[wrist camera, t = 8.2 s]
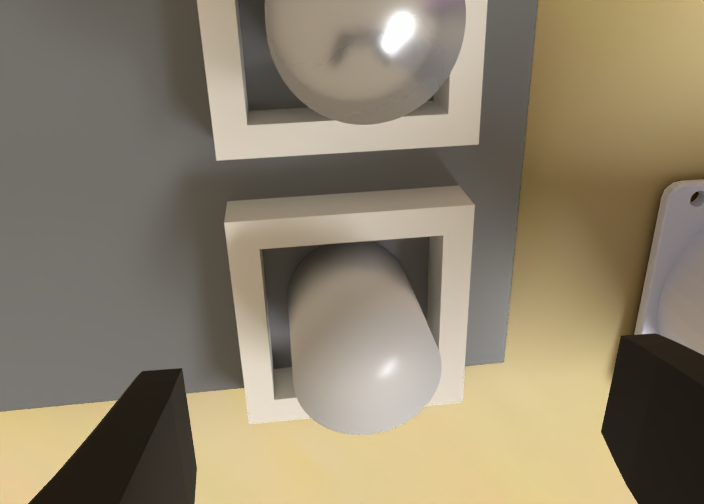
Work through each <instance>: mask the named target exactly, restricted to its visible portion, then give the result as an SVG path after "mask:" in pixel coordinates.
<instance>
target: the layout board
mask: <svg viewBox="0 0 704 504" xmlns="http://www.w3.org/2000/svg"><path fill="white" fill-rule="evenodd" d="M465 5H466V25H465V34H464V39H463V43H462V47H461V50H460V53H459V56H458V58H457V61H456V63H455V65H454V67H453V69H452V71H451V73H450V75H449V76H448V78H447V79H446V81H445V82H444V84H443V85H442V86H441V87H440V88H439V89H438V91H437V92H436V93H435V94H434V95H433V96H432V97H431V98H430V99H429V100H428V101H426V102H425V103H424V104H423V105H421V106H420V107H418V108H417V109H416V110H414V111H412V112H410V113H408V114H407V115H405V116H403V117H400V118H397V119H395V120H392V121H388V122H384V123H380V124H371V125H355V124H348V123H342V122H339V121H336V120H332V119H330V118H327V117H325V116H323V115H321V114H319V113H317V112H316V111H314V110H312V109H311V108H309V107H308V106H307V105H305V104H304V103H303V102H302V101H300V100H299V99H298V98H297V97H296V96H295V95H294V93H293V92H292V91H291V90H290V89H289V88H288V86H287V85H286V84H285V82H284V81H283V79H282V78H281V76H280V74H279V72H278V70H277V69H276V66H275V64H274V61H273V59H272V56H271V53H270V49H269V45H268V41H267V34H266V24H265V8H264V0H0V412H1V411H11V410H21V409H31V408H42V407H52V406H62V405H72V404H83V403H93V402H103V401H113V400H118V399H119V398H120V397H121V396H122V394H123V393H124V392H125V390H126V389H127V388H128V387H129V385H130V384H131V383H132V382H133V380H134V379H135V378H136V377H137V376H138V375H139V374H140V373H141V372H142V371H149V370H163V369H177V368H182V370H183V377H184V384H185V391H186V393H195V392H206V391H216V390H226V389H236V388H245V396H246V405H247V413H248V421H249V424H259V423H269V422H278V421H288V420H298V419H307V418H312V419H313V420H314V421H316V422H317V423H318V424H320V425H322V426H324V427H326V428H328V429H331V430H333V431H336V432H340V433H345V434H352V435H368V434H375V433H380V432H384V431H388V430H390V429H393V428H396V427H398V426H400V425H402V424H404V423H406V422H407V421H409V420H410V419H412V418H413V417H415V416H416V415H417V414H418V413H420V412H421V411H422V410H423V409H424V408H425V407H426V406H433V405H443V404H452V403H462V402H463V388H464V372H465V366H472V365H482V364H492V363H503V362H504V357H505V346H506V336H507V325H508V315H509V304H510V293H511V283H512V272H513V262H514V251H515V240H516V230H517V219H518V209H519V198H520V188H521V177H522V166H523V156H524V145H525V135H526V124H527V113H528V103H529V92H530V82H531V71H532V61H533V50H534V39H535V29H536V18H537V8H538V0H465Z"/></svg>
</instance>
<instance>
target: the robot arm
mask: <svg viewBox="0 0 704 504" xmlns="http://www.w3.org/2000/svg"><path fill="white" fill-rule="evenodd" d="M695 192H698V193H699V194H698V196H697V198H696V199H695V200H694V201H692V202H690V199H691V197H692V195H693V194H694V193H695ZM601 432H602V435H603V437H604V439H605V441H606V443H607V446H608V448H609V450H610V452H611V454H612V457H613V459H614V461H615V463H616V465H617V467H618V469H619V471H620V473H621V475H622V477H623V479H624V481H625V483H626V485H627V487H628V488H629V490H630V491H631V493H632V495H633V496H634V498H635V499H636V501H637V502H638V504H704V179H699V180H685V181H677V182H673V183H672V184H670V185H669V186H668V187H667V188H666V189H665V190H664V192H663V194H662V197H661V202H660V207H659V212H658V217H657V222H656V227H655V232H654V237H653V242H652V247H651V252H650V257H649V262H648V267H647V272H646V277H645V282H644V288H643V293H642V298H641V303H640V308H639V313H638V318H637V323H636V328H635V333H634V335H625V336H621V340H620V345H619V349H618V354H617V359H616V364H615V368H614V373H613V378H612V383H611V387H610V392H609V397H608V402H607V406H606V411H605V416H604V420H603V425H602V430H601ZM196 472H197V467H196V460H195V453H194V446H193V439H192V432H191V425H190V418H189V411H188V405H187V398H186V391H185V384H184V377H183V370H182V368H177V369H163V370H149V371H142V372H141V373H140V374H139V375H138V376H137V377H136V378H135V379H134V380H133V382H132V383H131V384H130V385H129V387H128V388H127V389H126V390H125V392H124V393H123V394H122V396H121V397H120V398H119V399H118V401H117V402H116V403H115V404H114V406H113V407H112V408H111V409H110V411H109V412H108V413H107V414H106V416H105V417H104V418H103V419H102V421H101V422H100V423H99V424H98V426H97V427H96V428H95V429H94V430H93V432H92V433H91V434H90V435H89V436H88V438H87V439H86V440H85V441H84V442H83V443H82V445H81V446H80V447H79V448H78V449H77V450H76V452H75V453H74V454H73V455H72V456H71V457H70V459H69V460H68V461H67V462H66V463H65V464H64V466H63V467H62V468H61V469H60V470H59V471H58V472H57V473H56V475H55V476H54V477H53V478H52V479H51V480H50V481H49V482H48V483H47V484H46V485H45V486H44V487H43V489H42V490H41V491H40V492H39V493H38V494H37V495H36V496H35V497H34V498H33V499H32V500H31V501H30V502H29V503H28V504H194V501H195V486H196Z"/></svg>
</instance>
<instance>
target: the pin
mask: <svg viewBox="0 0 704 504" xmlns="http://www.w3.org/2000/svg"><path fill="white" fill-rule="evenodd" d="M264 8H265V24H266V34H267V41H268V45H269V49H270V53H271V56H272V59H273V61H274V64H275V66H276V69H277V70H278V72H279V74H280V76H281V78H282V79H283V81H284V82H285V84H286V85H287V86H288V88H289V89H290V90H291V91H292V92H293V93H294V95H295V96H296V97H297V98H298V99H299V100H300V101H302V102H303V103H304V104H305V105H307V106H308V107H309V108H311V109H312V110H314V111H316V112H317V113H319V114H321V115H323V116H325V117H327V118H330V119H332V120H336V121H339V122H342V123H348V124H355V125H371V124H380V123H384V122H388V121H392V120H395V119H397V118H400V117H403V116H405V115H407V114H408V113H410V112H412V111H414V110H416V109H417V108H418V107H420V106H421V105H423V104H424V103H425V102H426V101H428V100H429V99H430V98H431V97H432V96H433V95H434V94H435V93H436V92H437V91H438V89H439V88H440V87H441V86H442V85H443V84H444V82H445V81H446V79H447V78H448V76H449V75H450V73H451V71H452V69H453V67H454V65H455V63H456V61H457V58H458V56H459V53H460V50H461V47H462V43H463V39H464V34H465V25H466V5H465V0H264Z"/></svg>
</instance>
